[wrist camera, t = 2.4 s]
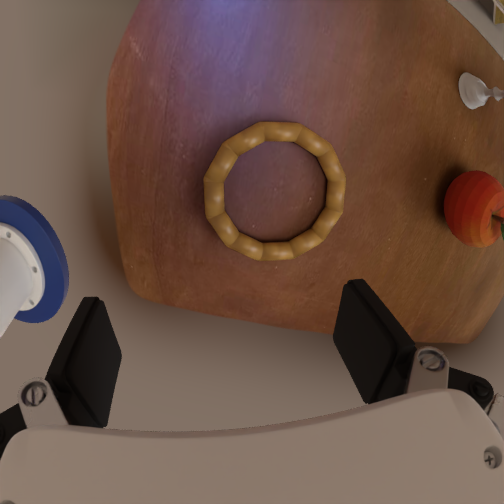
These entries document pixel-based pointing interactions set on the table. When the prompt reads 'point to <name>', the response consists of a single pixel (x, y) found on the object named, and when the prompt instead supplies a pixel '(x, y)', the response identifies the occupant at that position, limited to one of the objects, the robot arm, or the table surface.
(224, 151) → the ring
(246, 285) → the table surface
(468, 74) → the chalice
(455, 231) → the fruit
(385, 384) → the robot arm
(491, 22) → the platform
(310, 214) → the table surface
